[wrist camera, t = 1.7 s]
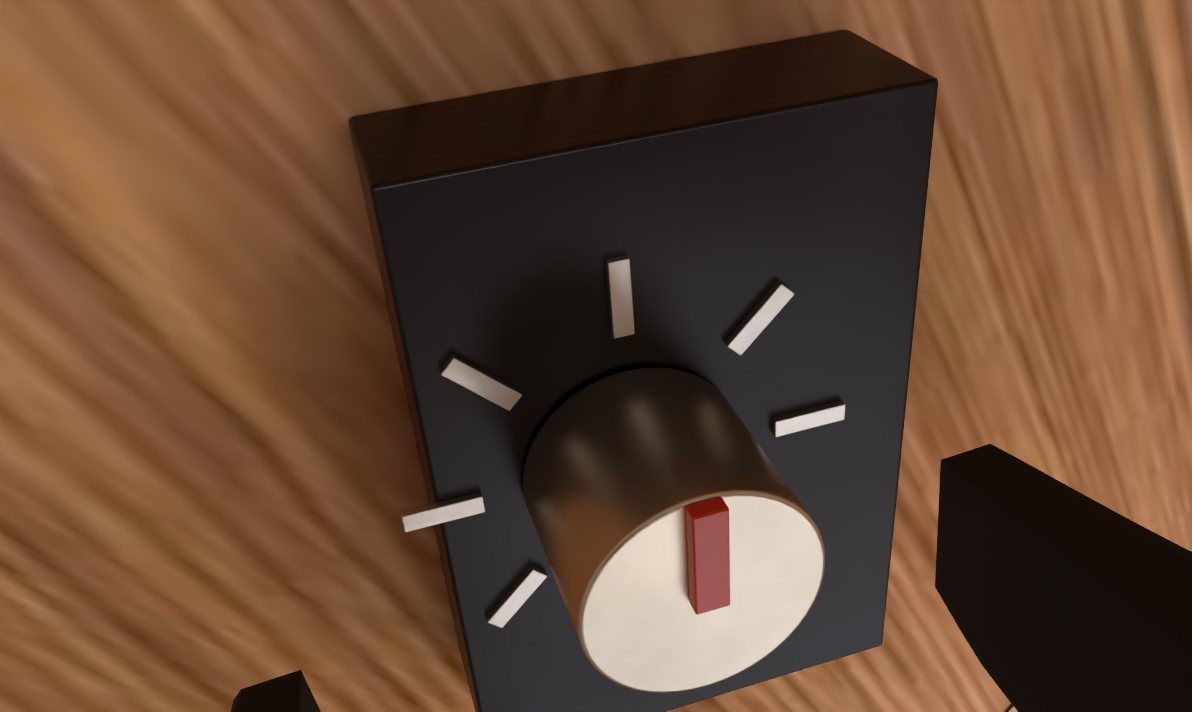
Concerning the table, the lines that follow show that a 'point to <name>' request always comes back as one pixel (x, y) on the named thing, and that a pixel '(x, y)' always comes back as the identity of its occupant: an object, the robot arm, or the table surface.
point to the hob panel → (655, 314)
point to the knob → (669, 531)
